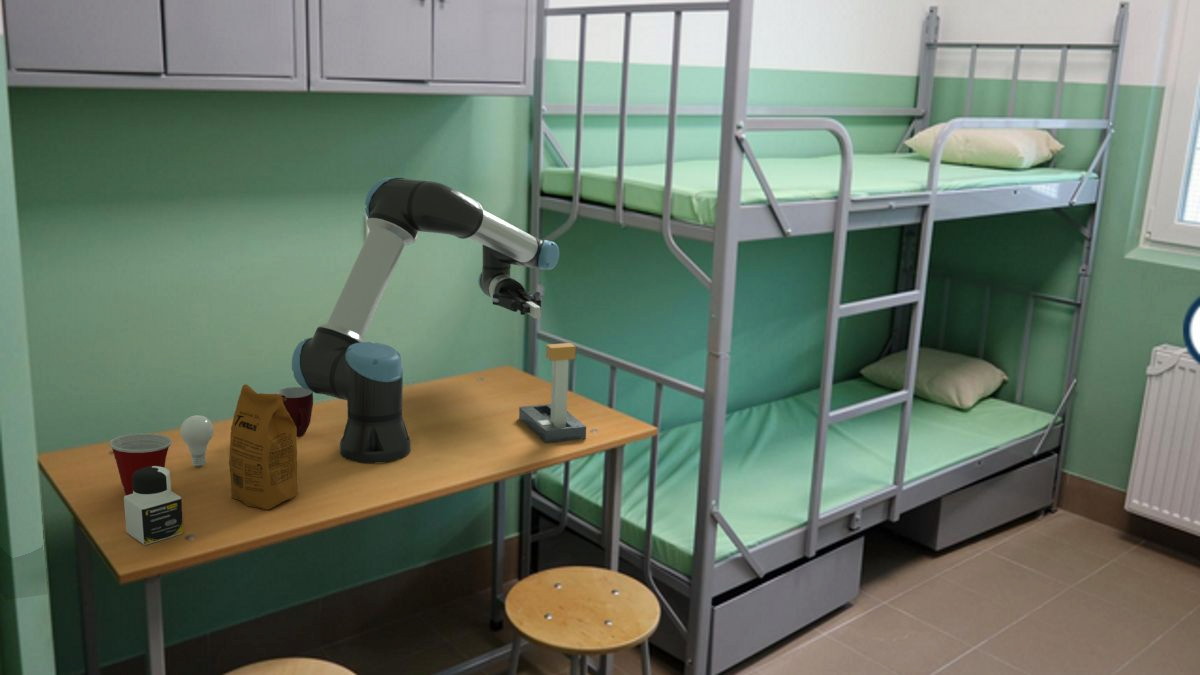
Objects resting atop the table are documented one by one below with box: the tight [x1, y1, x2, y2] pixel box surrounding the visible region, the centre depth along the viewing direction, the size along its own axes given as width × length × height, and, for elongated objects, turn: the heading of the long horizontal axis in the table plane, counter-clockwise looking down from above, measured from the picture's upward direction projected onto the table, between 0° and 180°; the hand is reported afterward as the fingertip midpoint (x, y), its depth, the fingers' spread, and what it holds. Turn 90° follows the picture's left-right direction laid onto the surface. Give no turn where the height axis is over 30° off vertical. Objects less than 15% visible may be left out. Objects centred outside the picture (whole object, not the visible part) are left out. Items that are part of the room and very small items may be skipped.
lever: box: [545, 342, 577, 428], centre depth 236 cm, size 3×6×20 cm, turn 114°
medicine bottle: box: [123, 466, 184, 546], centre depth 179 cm, size 7×7×12 cm
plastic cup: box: [108, 432, 173, 496], centre depth 193 cm, size 11×11×12 cm
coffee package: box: [228, 383, 299, 510], centre depth 194 cm, size 10×12×22 cm
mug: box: [275, 386, 314, 438], centre depth 229 cm, size 11×8×10 cm
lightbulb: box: [179, 414, 214, 468], centre depth 209 cm, size 6×6×11 cm
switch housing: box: [518, 403, 587, 444], centre depth 242 cm, size 18×10×3 cm, turn 24°
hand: (537, 313), depth 245 cm, fingers closed
